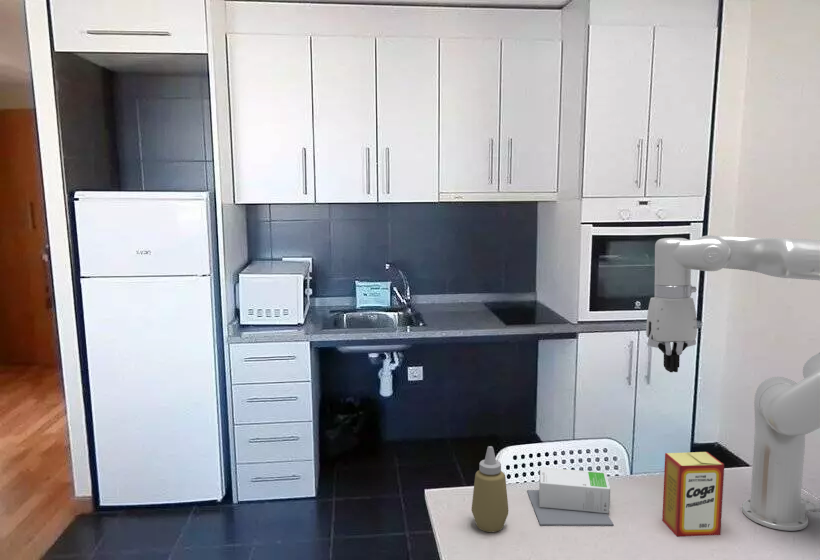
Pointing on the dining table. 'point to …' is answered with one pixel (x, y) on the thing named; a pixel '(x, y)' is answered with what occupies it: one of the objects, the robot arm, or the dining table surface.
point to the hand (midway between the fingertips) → (671, 370)
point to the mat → (566, 515)
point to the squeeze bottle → (490, 494)
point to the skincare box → (574, 490)
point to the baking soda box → (693, 494)
